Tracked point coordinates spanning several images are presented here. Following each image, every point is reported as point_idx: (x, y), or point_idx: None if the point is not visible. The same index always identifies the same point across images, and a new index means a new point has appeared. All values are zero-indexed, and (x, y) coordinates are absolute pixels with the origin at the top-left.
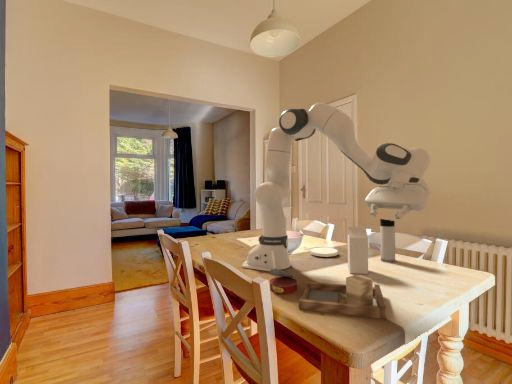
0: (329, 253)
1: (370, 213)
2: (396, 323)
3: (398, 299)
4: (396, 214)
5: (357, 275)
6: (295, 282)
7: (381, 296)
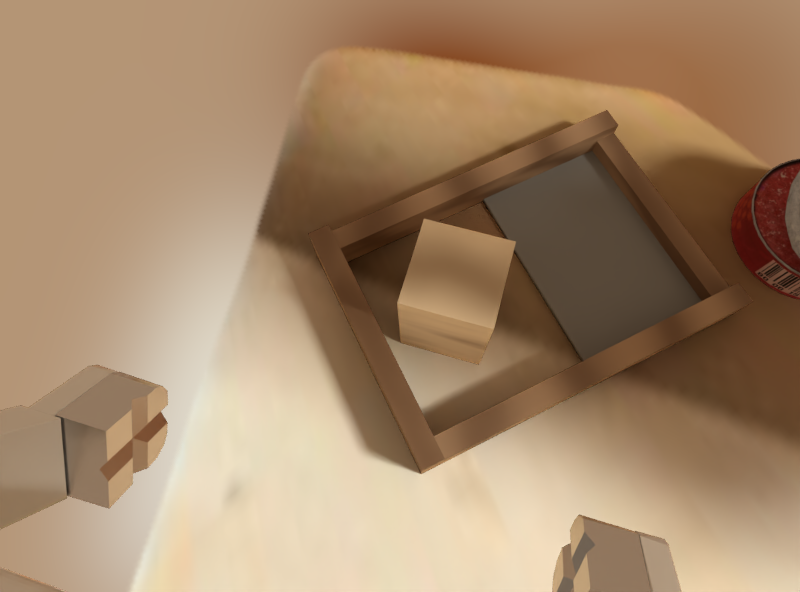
0: None
1: (642, 535)
2: (278, 249)
3: (330, 482)
4: (124, 384)
5: (486, 308)
6: (778, 250)
7: (355, 318)
